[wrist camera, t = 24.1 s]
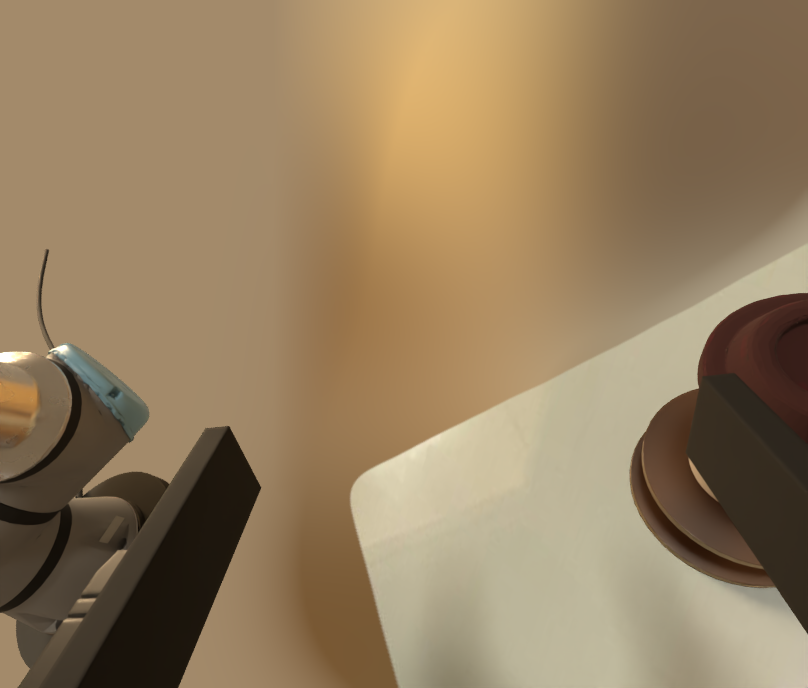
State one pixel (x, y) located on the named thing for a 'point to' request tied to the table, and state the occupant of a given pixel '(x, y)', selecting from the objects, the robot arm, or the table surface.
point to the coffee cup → (765, 357)
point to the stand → (687, 501)
